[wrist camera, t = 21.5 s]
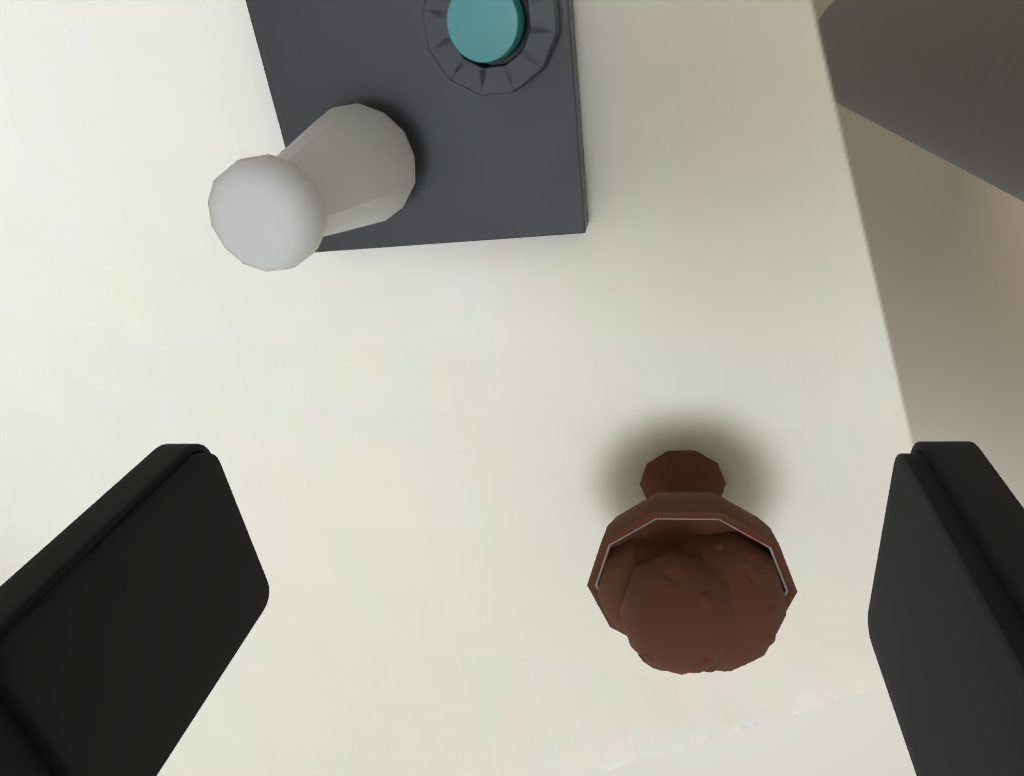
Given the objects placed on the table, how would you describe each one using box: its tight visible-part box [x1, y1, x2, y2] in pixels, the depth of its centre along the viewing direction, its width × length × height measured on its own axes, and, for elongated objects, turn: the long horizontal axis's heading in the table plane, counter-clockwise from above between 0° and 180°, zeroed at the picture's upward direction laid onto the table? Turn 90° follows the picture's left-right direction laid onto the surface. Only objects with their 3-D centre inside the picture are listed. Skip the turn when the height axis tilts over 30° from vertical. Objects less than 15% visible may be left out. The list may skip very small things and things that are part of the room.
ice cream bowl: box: [587, 451, 797, 675], centre depth 39 cm, size 11×11×15 cm
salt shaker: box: [208, 104, 416, 271], centre depth 30 cm, size 6×6×13 cm
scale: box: [246, 0, 588, 252], centre depth 35 cm, size 16×14×4 cm
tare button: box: [447, 0, 525, 63], centre depth 30 cm, size 3×3×2 cm
